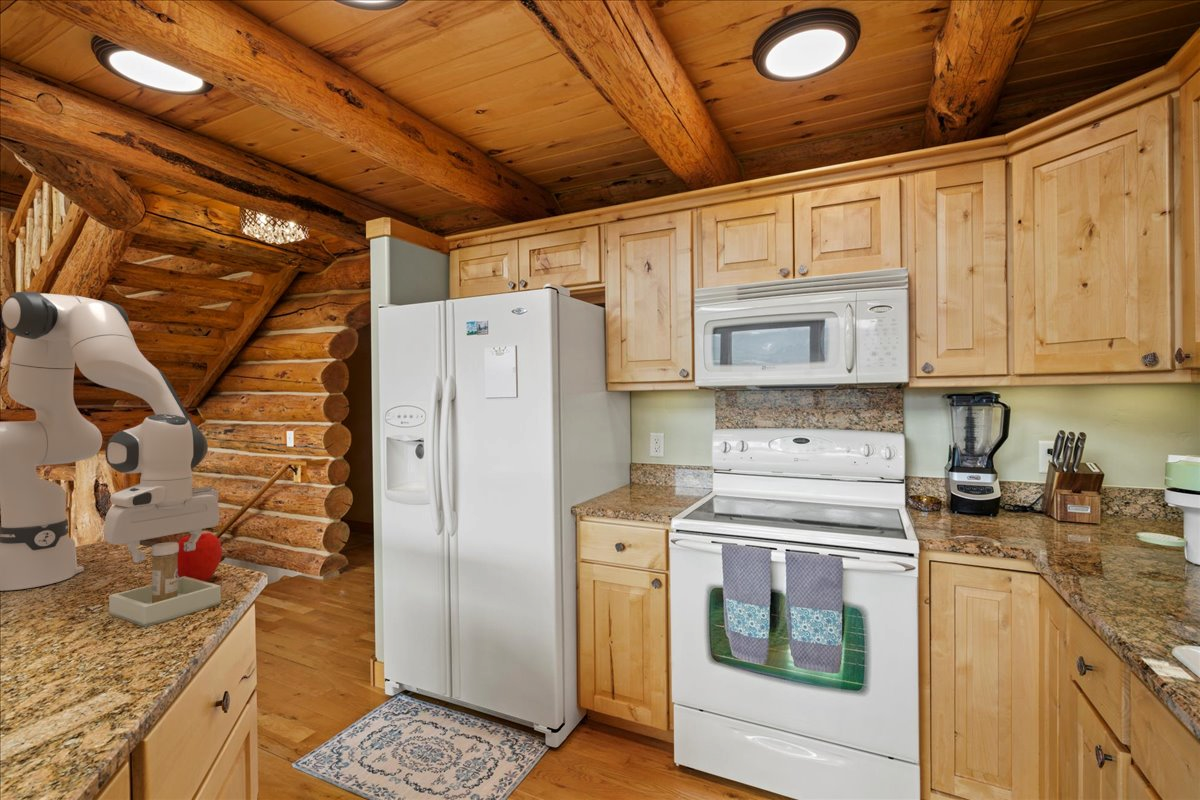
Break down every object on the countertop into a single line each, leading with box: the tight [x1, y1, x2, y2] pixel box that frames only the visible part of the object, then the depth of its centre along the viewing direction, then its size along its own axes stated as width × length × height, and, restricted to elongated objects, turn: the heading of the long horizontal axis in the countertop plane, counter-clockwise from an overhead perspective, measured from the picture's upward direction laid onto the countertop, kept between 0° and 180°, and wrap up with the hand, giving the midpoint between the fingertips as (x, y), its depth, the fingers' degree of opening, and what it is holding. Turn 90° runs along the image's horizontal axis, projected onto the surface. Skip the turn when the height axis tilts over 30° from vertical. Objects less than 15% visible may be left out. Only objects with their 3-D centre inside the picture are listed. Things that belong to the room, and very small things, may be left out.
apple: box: [176, 532, 223, 582], centre depth 136 cm, size 10×10×12 cm
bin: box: [108, 576, 222, 628], centre depth 118 cm, size 14×14×4 cm
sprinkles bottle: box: [150, 541, 179, 603], centre depth 118 cm, size 5×5×14 cm
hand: (165, 555), depth 118 cm, fingers open, 8 cm apart
